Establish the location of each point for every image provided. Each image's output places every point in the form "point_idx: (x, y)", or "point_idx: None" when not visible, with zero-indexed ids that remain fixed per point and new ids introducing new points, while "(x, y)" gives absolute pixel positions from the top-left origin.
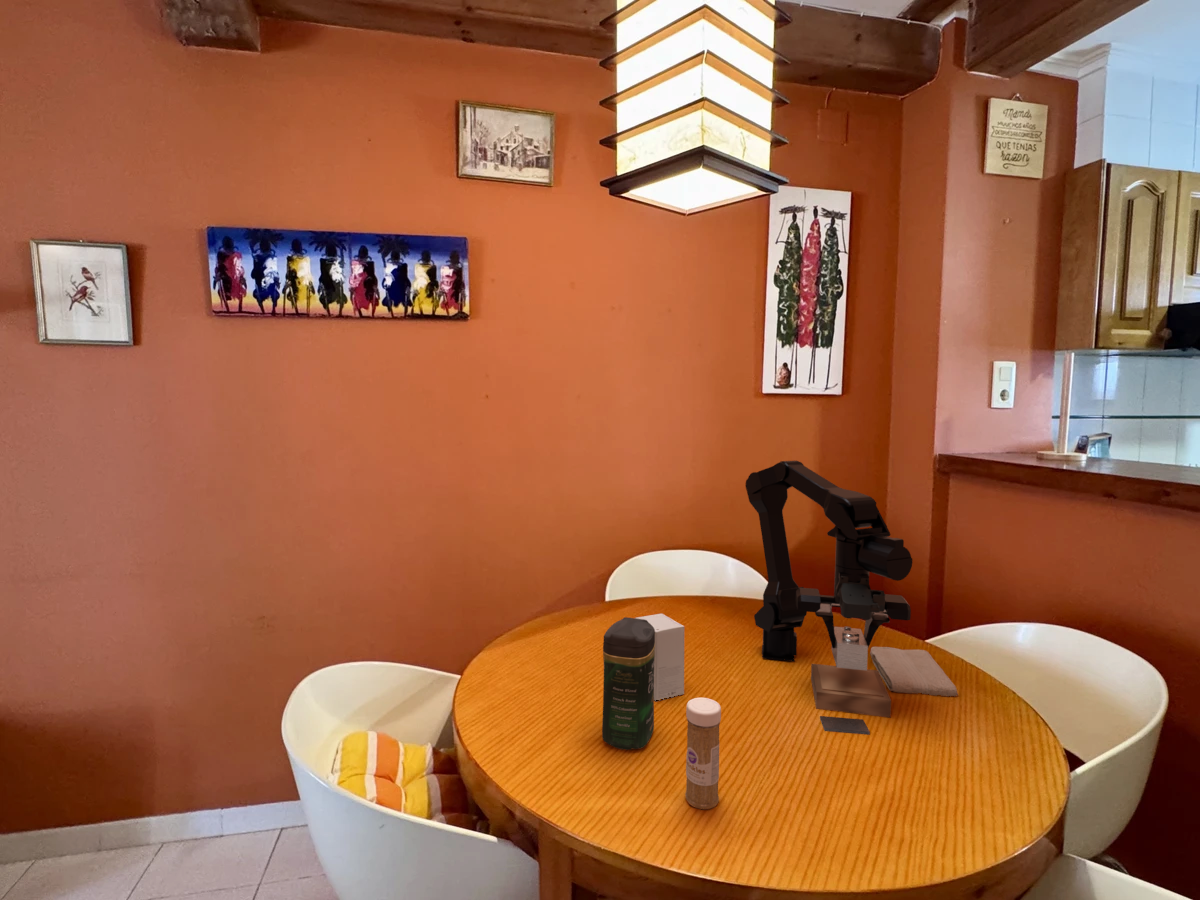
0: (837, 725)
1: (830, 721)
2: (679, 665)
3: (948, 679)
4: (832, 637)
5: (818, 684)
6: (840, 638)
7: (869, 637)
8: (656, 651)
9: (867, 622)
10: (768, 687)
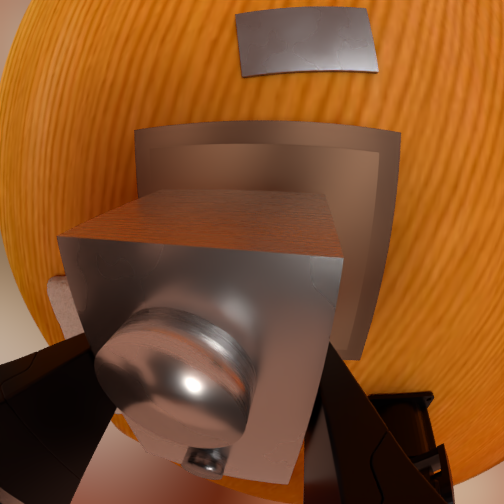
0: (328, 24)
1: (348, 41)
2: None
3: (55, 313)
4: (340, 393)
5: (383, 201)
6: (276, 373)
7: (61, 352)
8: None
9: (45, 451)
10: (480, 253)
